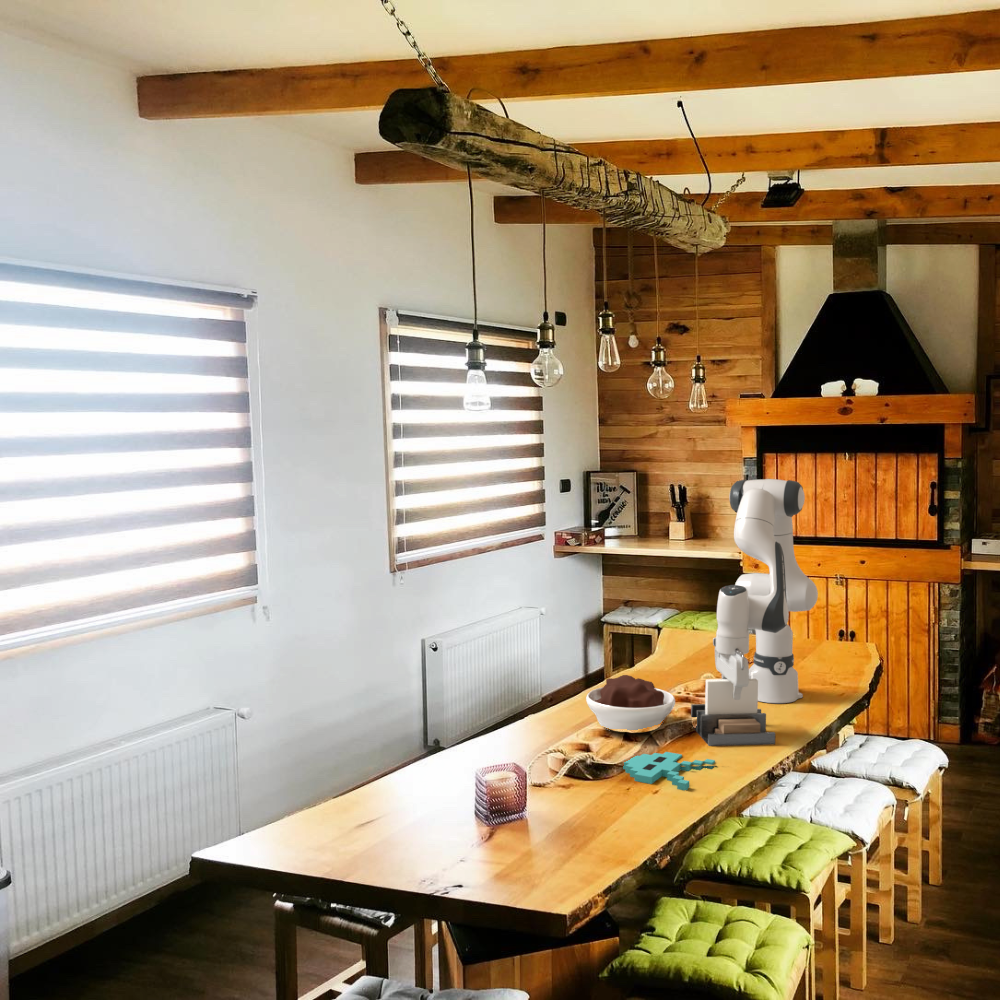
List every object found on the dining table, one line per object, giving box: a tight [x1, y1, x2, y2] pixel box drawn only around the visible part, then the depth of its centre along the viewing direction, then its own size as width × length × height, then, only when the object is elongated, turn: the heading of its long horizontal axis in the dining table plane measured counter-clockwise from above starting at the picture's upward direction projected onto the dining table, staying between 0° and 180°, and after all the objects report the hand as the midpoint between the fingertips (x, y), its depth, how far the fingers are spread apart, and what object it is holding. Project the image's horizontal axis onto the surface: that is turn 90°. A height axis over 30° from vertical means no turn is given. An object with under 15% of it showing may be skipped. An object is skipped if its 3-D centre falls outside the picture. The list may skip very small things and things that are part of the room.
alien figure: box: [622, 751, 716, 791], centre depth 277 cm, size 20×2×20 cm
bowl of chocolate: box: [585, 674, 676, 730], centre depth 312 cm, size 25×25×15 cm
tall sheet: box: [704, 678, 759, 714], centre depth 304 cm, size 2×14×15 cm, turn 95°
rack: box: [690, 703, 776, 747], centre depth 303 cm, size 19×18×7 cm
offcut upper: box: [718, 719, 760, 733], centre depth 298 cm, size 5×10×2 cm, turn 95°
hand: (731, 694), depth 303 cm, fingers open, 8 cm apart
